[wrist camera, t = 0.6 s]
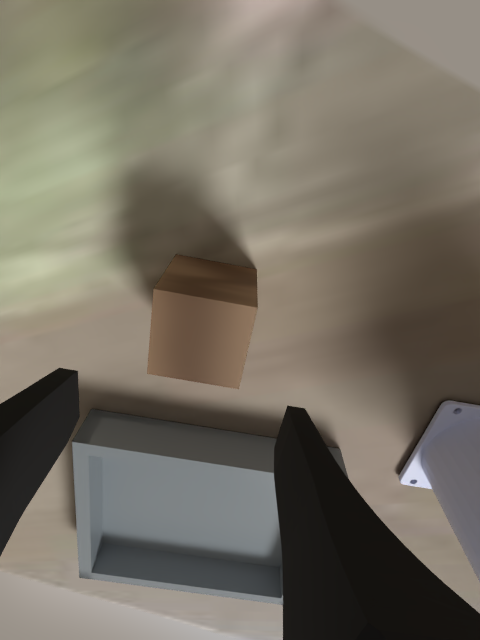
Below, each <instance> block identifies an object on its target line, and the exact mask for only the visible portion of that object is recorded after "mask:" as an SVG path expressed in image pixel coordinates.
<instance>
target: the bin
mask: <svg viewBox="0 0 480 640" xmlns="http://www.w3.org/2000/svg"><path fill="white" fill-rule="evenodd" d="M276 440H277V439H276V438H270V437H264V436H257V435H251V434H245V433H239V432H233V431H226V430H220V429H214V428H208V427H201V426H195V425H189V424H183V423H177V422H170V421H164V420H158V419H152V418H145V417H139V416H133V415H127V414H121V413H114V412H108V411H102V410H96V409H91V411H90V412H89V414H88V416H87V417H86V419H85V421H84V422H83V424H82V426H81V427H80V429H79V431H78V433H77V434H76V436H75V438H74V439H73V441H72V451H73V469H74V487H75V505H76V524H77V542H78V560H79V578H86V579H94V580H101V581H109V582H116V583H124V584H131V585H139V586H146V587H154V588H161V589H168V590H176V591H183V592H191V593H198V594H206V595H213V596H221V597H228V598H236V599H243V600H251V601H258V602H266V603H273V604H281V605H283V571H282V548H281V537H280V528H279V519H278V510H277V501H276V492H275V482H274V446H275V443H276ZM328 449H329V451H330V452H331V454H332V455H333V457H334V458H335V460H336V462H337V463H338V465H339V466H340V468H341V469H342V471H343V472H344V474H345V475H346V476H347V478H348V475H347V472H346V468H345V465H344V461H343V457H342V454H341V450H340V449H338V448H332V447H328Z"/></svg>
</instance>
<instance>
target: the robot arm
mask: <svg viewBox="0 0 480 640" xmlns="http://www.w3.org/2000/svg"><path fill="white" fill-rule="evenodd" d="M457 408H458V409H457ZM455 409H456V410H455ZM79 417H80V416H79V391H78V371H75V370H69V369H63V368H58V369H57V370H55V371H53V372H52V373H50V374H48V375H47V376H45V377H44V378H42V379H40V380H39V381H37V382H36V383H34V384H33V385H31V386H29V387H28V388H26V389H24V390H23V391H21V392H20V393H18V394H16V395H15V396H13V397H11V398H10V399H8V400H6V401H5V402H3V403H1V404H0V556H1V554H2V552H3V550H4V548H5V546H6V544H7V542H8V540H9V538H10V536H11V534H12V532H13V531H14V529H15V527H16V525H17V523H18V521H19V519H20V518H21V516H22V514H23V512H24V511H25V509H26V507H27V506H28V504H29V503H30V501H31V499H32V498H33V496H34V495H35V493H36V492H37V490H38V488H39V487H40V485H41V484H42V482H43V481H44V479H45V478H46V476H47V474H48V473H49V471H50V470H51V468H52V467H53V465H54V463H55V462H56V460H57V459H58V457H59V455H60V454H61V452H62V451H63V449H64V447H65V446H66V444H67V442H68V440H69V438H70V436H71V434H72V432H73V430H74V428H75V425H76V423H77V421H78V419H79ZM398 478H399V480H400V483H402V484H404V485H410V486H416V487H422V488H429V489H433V491H434V493H435V495H436V497H437V499H438V501H439V503H440V505H441V507H442V509H443V511H444V513H445V515H446V517H447V519H448V521H449V523H450V525H451V527H452V529H453V531H454V533H455V535H456V536H457V538H458V540H459V542H460V544H461V546H462V548H463V550H464V552H465V554H466V556H467V558H468V560H469V562H470V564H471V566H472V568H473V570H474V572H475V574H476V576H477V578H478V580H479V582H480V405H474V404H468V403H462V402H456V401H445V402H443V403H442V404H441V405H440V407H439V409H438V410H437V412H436V414H435V415H434V417H433V419H432V420H431V422H430V424H429V426H428V427H427V429H426V431H425V432H424V434H423V436H422V437H421V439H420V441H419V443H418V444H417V446H416V448H415V449H414V451H413V453H412V454H411V456H410V458H409V460H408V461H407V463H406V465H405V466H404V468H403V470H402V471H401V473H400V475H399V477H398ZM274 482H275V492H276V501H277V510H278V519H279V528H280V537H281V548H282V571H283V640H480V614H479V613H478V612H477V611H476V610H475V609H474V608H472V607H471V606H470V605H469V604H468V603H467V602H465V601H464V600H463V599H462V598H461V597H460V596H458V595H457V594H456V593H455V592H454V591H453V590H451V589H450V588H449V587H448V586H447V585H446V584H444V583H443V582H442V581H441V580H440V579H439V578H438V577H437V576H436V575H435V574H433V573H432V572H431V571H430V570H429V569H428V568H427V567H426V566H425V565H424V564H423V563H422V562H421V561H420V560H419V559H418V558H417V557H416V556H415V555H414V554H413V553H412V552H411V551H410V550H409V549H408V548H407V547H406V546H405V545H404V544H403V543H402V542H401V541H400V540H399V539H398V538H397V537H396V536H395V535H394V534H393V533H392V532H391V531H390V529H389V528H388V527H387V526H386V525H385V524H384V523H383V522H382V521H381V520H380V518H379V517H378V516H377V515H376V514H375V513H374V511H373V510H372V509H371V508H370V506H369V505H368V504H367V503H366V502H365V500H364V499H363V498H362V497H361V495H360V494H359V493H358V492H357V490H356V489H355V488H354V486H353V485H352V483H351V482H350V481H349V479H348V478H347V476H346V475H345V474H344V472H343V471H342V469H341V468H340V466H339V465H338V463H337V462H336V460H335V458H334V457H333V455H332V454H331V452H330V451H329V449H328V447H327V446H326V444H325V442H324V441H323V439H322V437H321V436H320V434H319V432H318V431H317V429H316V427H315V425H314V424H313V422H312V420H311V418H310V416H309V415H308V413H307V411H306V410H305V409H304V408H298V407H292V406H287V409H286V412H285V415H284V418H283V421H282V424H281V427H280V431H279V434H278V437H277V440H276V443H275V446H274Z"/></svg>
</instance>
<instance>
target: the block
mask: <svg viewBox="0 0 480 640" xmlns="http://www.w3.org/2000/svg"><path fill="white" fill-rule="evenodd" d="M257 308H258V303H257V269H252V268H247V267H241V266H236V265H231V264H225V263H220V262H215V261H209V260H204V259H199V258H193V257H188V256H183V255H177V254H176V255H175V257H174V258H173V260H172V261H171V263H170V264H169V266H168V268H167V269H166V271H165V272H164V274H163V275H162V277H161V278H160V280H159V281H158V283H157V284H156V286H155V287H154V290H153V303H152V316H151V330H150V343H149V356H148V369H147V374H152V375H158V376H164V377H170V378H176V379H182V380H188V381H194V382H200V383H206V384H212V385H218V386H223V387H229V388H235V389H239V386H240V382H241V377H242V373H243V369H244V364H245V360H246V356H247V352H248V347H249V343H250V339H251V334H252V330H253V326H254V321H255V317H256V313H257Z"/></svg>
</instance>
